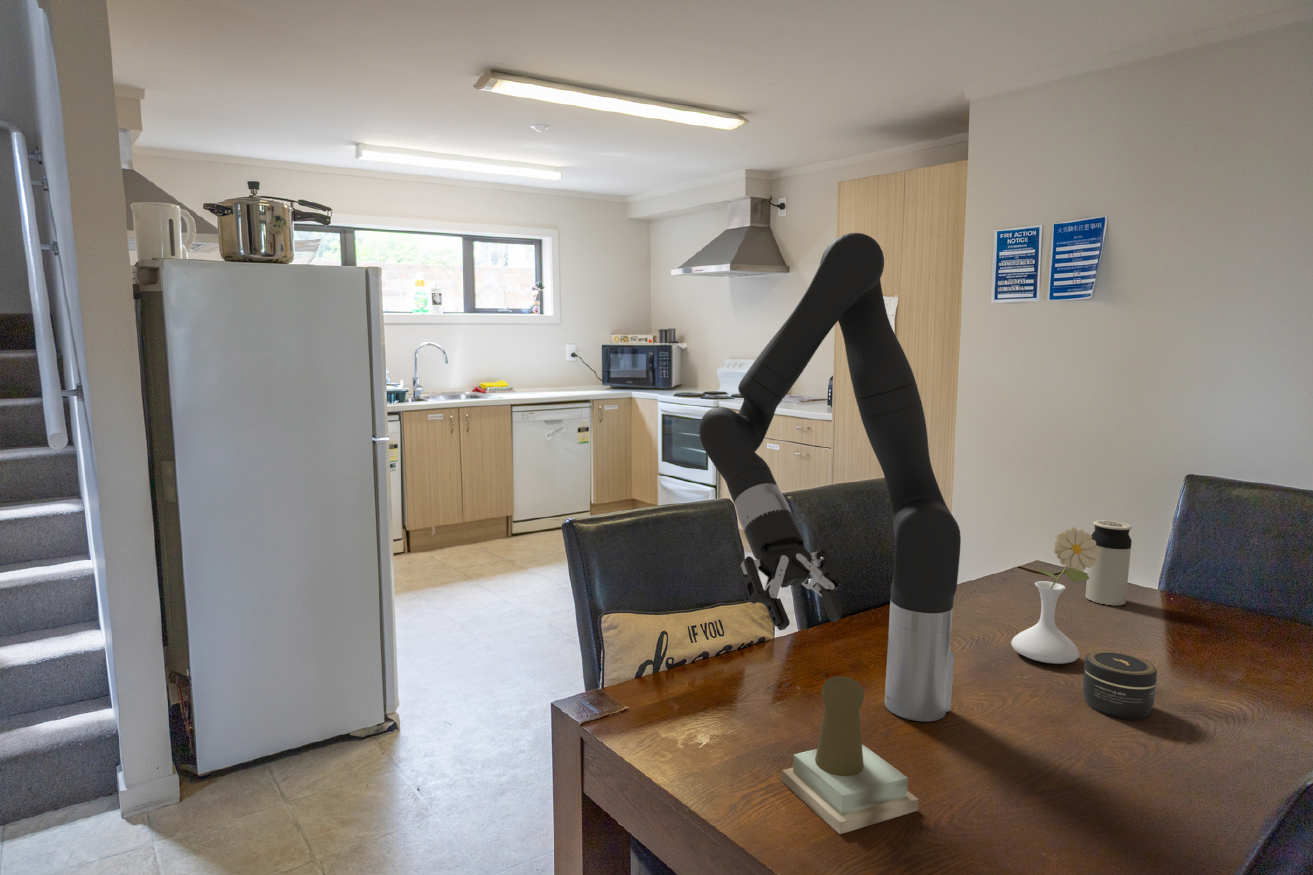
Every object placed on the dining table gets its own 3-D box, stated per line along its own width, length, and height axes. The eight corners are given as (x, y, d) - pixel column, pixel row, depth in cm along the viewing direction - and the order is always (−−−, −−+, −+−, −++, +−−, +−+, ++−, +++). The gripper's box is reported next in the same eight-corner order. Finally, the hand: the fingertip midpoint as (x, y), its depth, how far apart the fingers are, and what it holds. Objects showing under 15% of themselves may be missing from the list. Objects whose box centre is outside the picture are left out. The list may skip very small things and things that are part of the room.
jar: (1092, 687, 131) (1096, 644, 130) (1160, 707, 124) (1165, 662, 123) (1072, 705, 124) (1076, 660, 123) (1143, 728, 117) (1148, 680, 116)
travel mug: (1093, 605, 173) (1100, 526, 171) (1079, 593, 181) (1086, 518, 179) (1131, 607, 172) (1139, 529, 170) (1116, 596, 180) (1123, 520, 177)
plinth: (855, 761, 106) (856, 734, 105) (918, 810, 95) (920, 780, 95) (781, 780, 101) (782, 752, 100) (839, 834, 90) (841, 802, 90)
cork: (809, 751, 101) (813, 670, 99) (854, 749, 101) (858, 670, 100) (823, 776, 95) (827, 691, 94) (870, 775, 95) (875, 690, 94)
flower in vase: (1011, 663, 140) (1022, 529, 137) (1009, 641, 151) (1018, 516, 148) (1093, 676, 135) (1106, 537, 132) (1084, 652, 146) (1096, 523, 143)
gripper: (735, 511, 107) (778, 618, 98) (819, 504, 113) (867, 603, 104) (715, 539, 113) (755, 643, 104) (796, 531, 119) (840, 628, 110)
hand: (811, 623), depth 104 cm, fingers open, 8 cm apart
